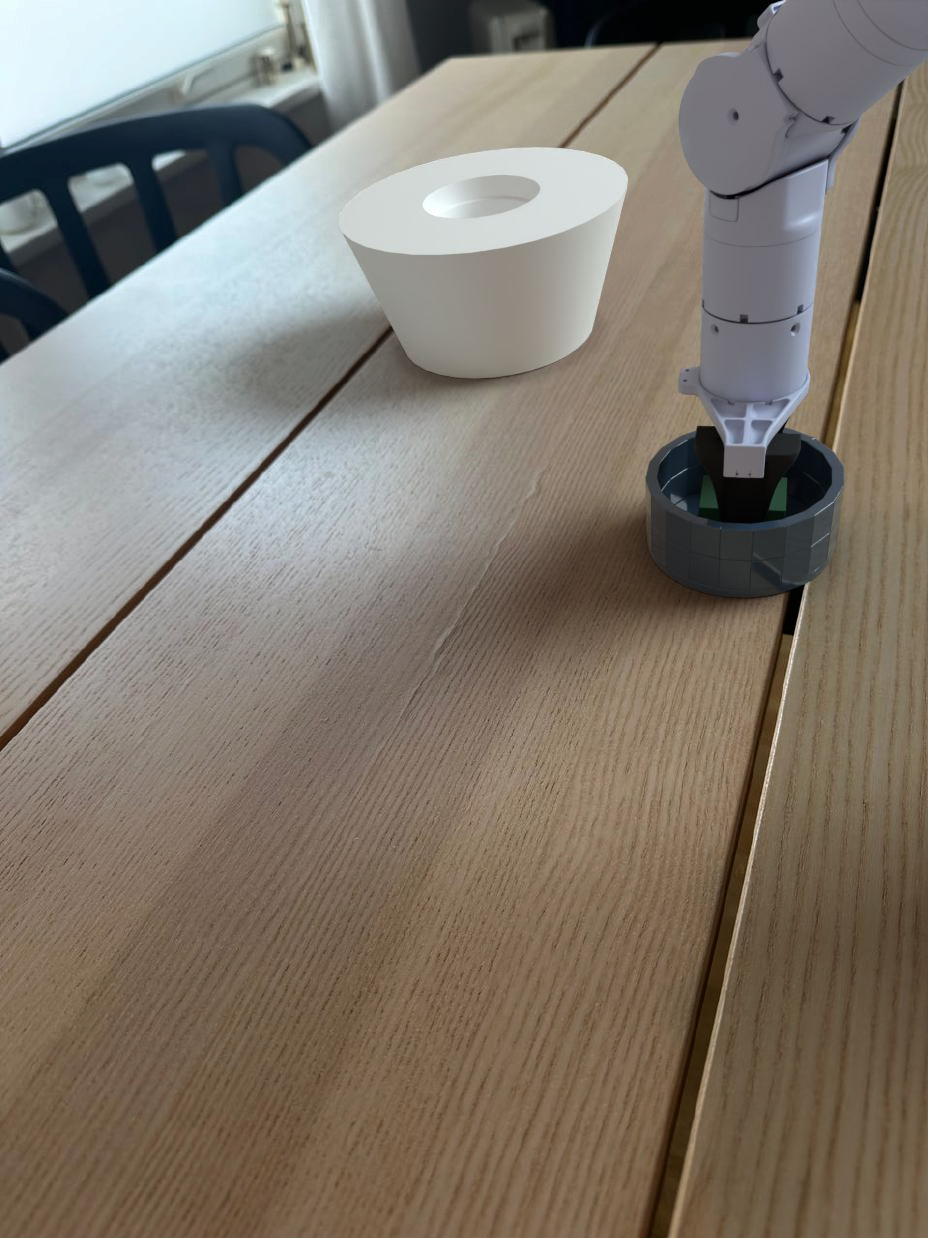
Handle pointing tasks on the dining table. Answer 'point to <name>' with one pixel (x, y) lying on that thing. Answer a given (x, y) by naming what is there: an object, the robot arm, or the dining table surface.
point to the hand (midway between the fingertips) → (743, 510)
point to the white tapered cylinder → (489, 255)
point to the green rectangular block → (710, 507)
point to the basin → (743, 525)
